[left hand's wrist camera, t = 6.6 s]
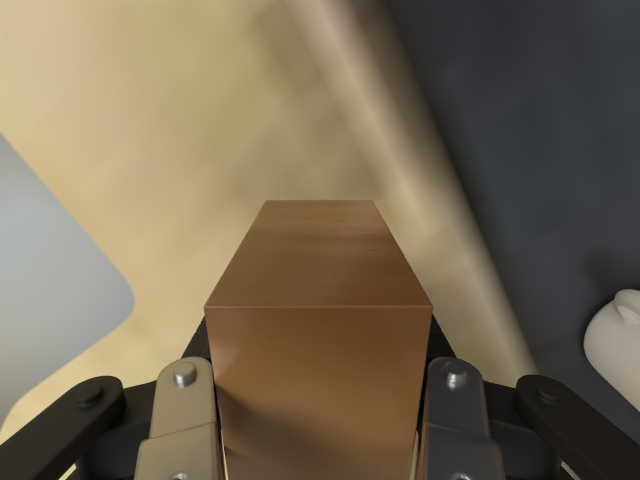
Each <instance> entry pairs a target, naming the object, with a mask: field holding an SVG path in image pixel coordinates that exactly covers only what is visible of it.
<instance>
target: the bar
mask: <svg viewBox="0 0 640 480" xmlns="http://www.w3.org/2000/svg"><path fill="white" fill-rule="evenodd" d="M432 310H433V306H432V304H431V302H430V300H429V299H428V297H427V295H426V293H425V292H424V290H423V288H422V286H421V285H420V283H419V281H418V279H417V278H416V276H415V274H414V272H413V271H412V269H411V267H410V265H409V264H408V262H407V260H406V258H405V257H404V255H403V253H402V251H401V250H400V248H399V246H398V244H397V242H396V241H395V239H394V237H393V235H392V234H391V232H390V230H389V228H388V227H387V225H386V223H385V221H384V220H383V218H382V216H381V214H380V213H379V211H378V209H377V207H376V206H375V204H374V202H373V201H372V200H267V201H266V202H265V203H264V205H263V207H262V208H261V210H260V212H259V213H258V215H257V217H256V219H255V220H254V222H253V224H252V225H251V227H250V229H249V231H248V232H247V234H246V236H245V237H244V239H243V241H242V242H241V244H240V246H239V248H238V249H237V251H236V253H235V254H234V256H233V258H232V259H231V261H230V263H229V265H228V266H227V268H226V270H225V271H224V273H223V275H222V276H221V278H220V280H219V282H218V283H217V285H216V287H215V288H214V290H213V292H212V294H211V295H210V297H209V299H208V300H207V302H206V304H205V305H204V312H205V319H206V326H207V333H208V340H209V347H210V354H211V361H212V367H213V374H214V381H215V388H216V395H217V402H218V409H219V416H220V423H221V430H222V437H223V444H224V451H225V458H226V465H227V472H228V479H229V480H410V472H411V465H412V457H413V450H414V443H415V435H416V428H417V421H418V413H419V406H420V398H421V391H422V384H423V376H424V369H425V361H426V354H427V347H428V339H429V332H430V325H431V317H432Z"/></svg>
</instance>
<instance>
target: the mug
mask: <svg viewBox="0 0 640 480" xmlns="http://www.w3.org/2000/svg"><path fill="white" fill-rule="evenodd" d="M584 351H585V354H586V357H587V359H588V360H589V362H590V363H591V365H592V366H593V367H594V368H595V369H596V370H597V371H598V373H599V374H600V375H601V376H602V377H603V378H604V379H606V380H607V381H608V382H609V383H610V384H611V385H612V386H613V387H614V388H615V389H616V390H617V391H618V392H619V393H620V394H621V395H623V396H624V397H625V398H626V399H627V400H628V401H629V402H630V403H631V404H632V405H633V406H634V407H635V408H636V409H637V410H638V411H640V290H639V291H637V290H632V289H625V290H621V291H619V292H618V293H617V294H616V295H615V298H614V300H613V301H611V302H609V303H608V304H607V305H605V306H604V307H603V308H602V309H600V310H599V312H598V313H597V314H596V315H595V316H594V317H593V318H592V320H591V322H590V323H589V325H588V327H587V329H586V332H585V336H584Z"/></svg>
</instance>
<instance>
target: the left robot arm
mask: <svg viewBox="0 0 640 480" xmlns="http://www.w3.org/2000/svg"><path fill="white" fill-rule="evenodd" d="M416 429H417V432H418V442H417V453H416V465H415V477H414V480H574V479H573V478H572V477H571V475H570V474H569V473H568V472H567V471H566V470H565V469H564V468H563V467H562V466H561V464H562V461H564V462H565V463H566V464H567V465H568V466H569V467H570V468H571V469H572V470H573V471H574V472H575V473H576V474H577V475H578V476H579V477H580V478H581V480H640V445H638V444H637V443H636V442H635V441H633V440H632V439H631V438H630V437H629V436H627V435H626V434H625V433H624V432H622V431H621V430H620V429H619V428H617V427H616V426H615V425H614V424H612V423H611V422H610V421H609V420H607V419H606V418H605V417H604V416H603V415H601V414H600V413H599V412H598V411H596V410H595V409H594V408H593V407H591V406H590V405H589V404H588V403H586V402H585V401H584V400H583V399H581V398H580V397H579V396H578V395H577V394H575V393H574V392H573V391H572V390H570V389H569V388H568V387H566V386H565V385H563V384H561V383H560V382H558V381H556V380H553V379H551V378H548V377H545V376H540V375H525V376H522V377H521V378H519V380H518V381H517V384H516V388H511V387H507V386H503V385H498V384H494V383H490V382H487V381H484V380H483V378H482V376H481V374H480V372H479V371H478V370H477V369H476V368H475V367H474V366H472V365H471V364H469V363H468V362H466V361H464V360H461V359H458V358H457V357H456V356H455V354H454V352H453V350H452V348H451V346H450V345H449V343H448V341H447V339H446V337H445V335H444V334H443V332H442V330H441V328H440V326H439V325H438V324H437V321H436V319H435V317H434V315H433V314H432V317H431V325H430V332H429V339H428V347H427V354H426V361H425V369H424V376H423V384H422V391H421V398H420V406H419V413H418V421H417V428H416ZM74 463H75V465H76V469H75V470H74V471H73V472H72V473H71V474H70V475H69V477H68V478H67V479H66V480H226V477H225V465H224V453H223V442H222V434H221V423H220V416H219V409H218V402H217V395H216V388H215V381H214V374H213V367H212V361H211V354H210V347H209V340H208V333H207V326H206V319H205V316H204V318H203V319H202V321H201V324H200V325H199V327H198V328H197V330H196V333H195V334H194V336H193V337H192V339H191V341H190V343H189V345H188V346H187V348H186V350H185V352H184V354H183V355H182V357H181V359H179V360H176V361H174V362H172V363H171V364H169V365H168V366H166V367H165V368H164V369H163V370H162V371H161V372H160V374H159V376H158V378H157V380H155V381H152V382H149V383H146V384H141V385H137V386H133V387H129V388H124V389H123V386H122V383H121V381H120V380H119V379H118V378H116V377H113V376H99V377H94V378H91V379H88V380H86V381H83V382H81V383H79V384H77V385H76V386H74V387H72V388H71V389H70V390H68V391H67V392H66V393H65V394H63V395H62V396H61V397H60V398H58V399H57V400H56V401H55V402H54V403H52V404H51V405H50V406H49V407H47V408H46V409H45V410H44V411H42V412H41V413H40V414H39V415H37V416H36V417H35V418H34V419H33V420H31V421H30V422H29V423H28V424H26V425H25V426H24V427H23V428H21V429H20V430H19V431H18V432H16V433H15V434H14V435H13V436H11V437H10V438H9V439H8V440H7V441H5V442H4V443H3V444H2V445H0V480H58V479H59V478H60V477H61V476H62V475H63V474H64V473H65V472H66V471H67V470H68V469H69V468H70V467H71V466H72V465H73V464H74Z"/></svg>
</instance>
